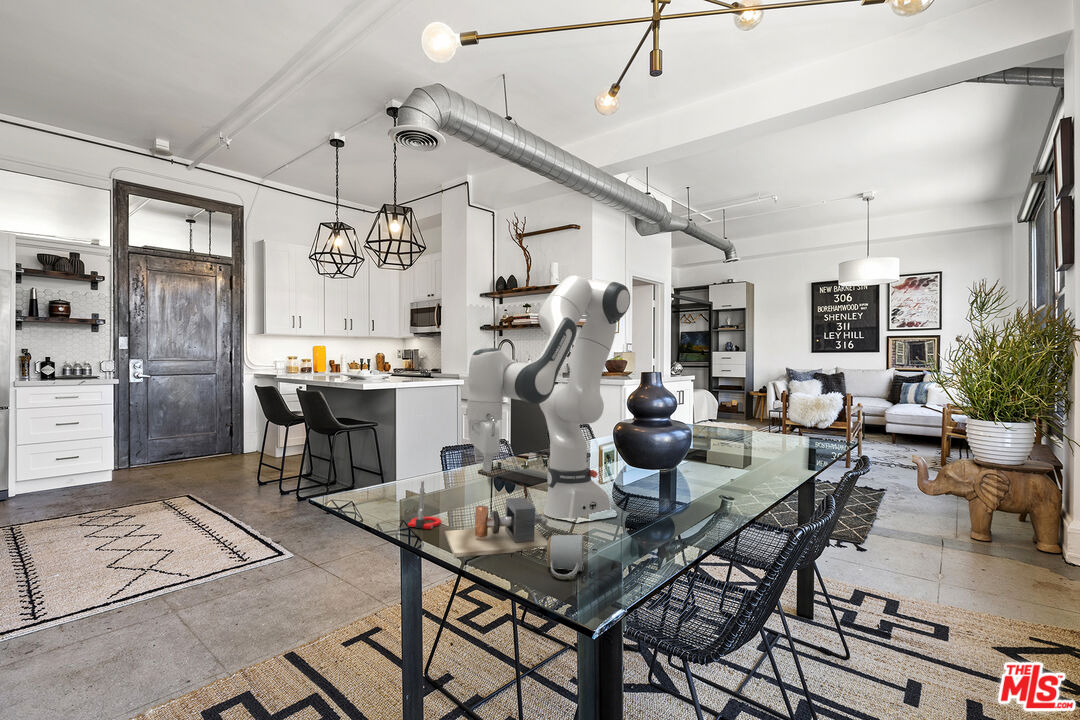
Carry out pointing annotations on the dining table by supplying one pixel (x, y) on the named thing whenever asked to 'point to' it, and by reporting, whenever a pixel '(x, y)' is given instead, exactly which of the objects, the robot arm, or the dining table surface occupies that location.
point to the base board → (488, 542)
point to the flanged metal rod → (496, 521)
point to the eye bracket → (520, 520)
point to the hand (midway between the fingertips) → (482, 466)
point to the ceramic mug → (565, 553)
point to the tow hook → (420, 520)
